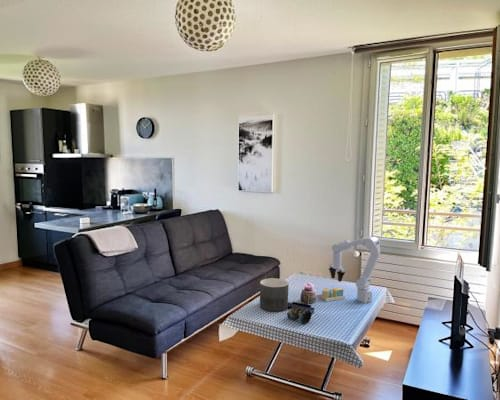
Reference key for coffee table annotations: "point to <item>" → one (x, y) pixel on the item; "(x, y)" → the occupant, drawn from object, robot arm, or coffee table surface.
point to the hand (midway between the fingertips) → (336, 279)
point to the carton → (326, 293)
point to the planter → (274, 294)
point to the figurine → (300, 314)
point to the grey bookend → (332, 297)
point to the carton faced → (337, 292)
